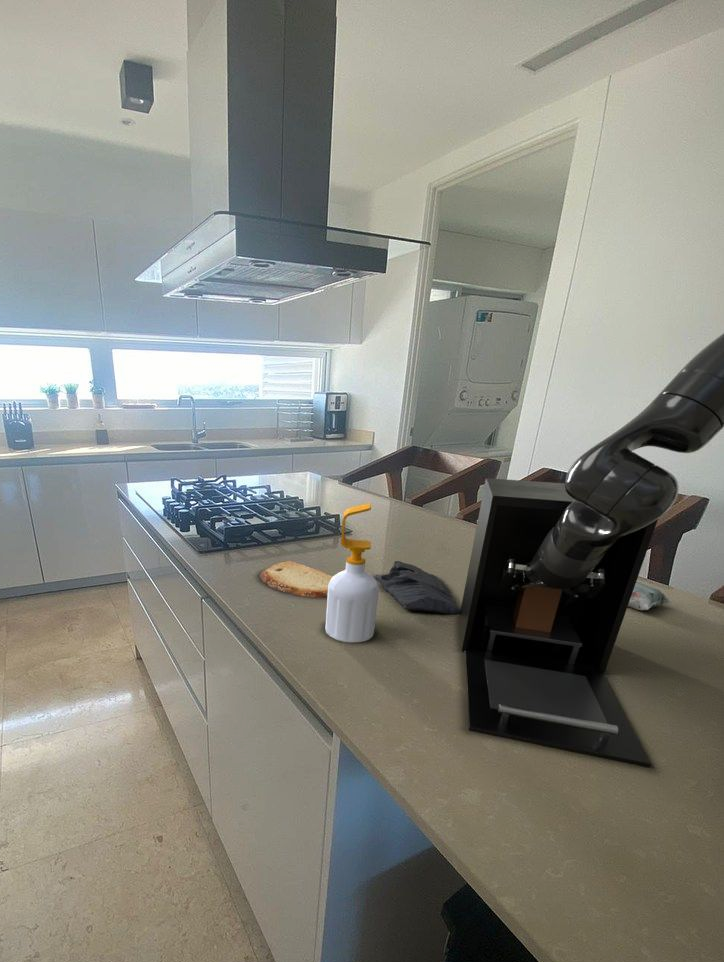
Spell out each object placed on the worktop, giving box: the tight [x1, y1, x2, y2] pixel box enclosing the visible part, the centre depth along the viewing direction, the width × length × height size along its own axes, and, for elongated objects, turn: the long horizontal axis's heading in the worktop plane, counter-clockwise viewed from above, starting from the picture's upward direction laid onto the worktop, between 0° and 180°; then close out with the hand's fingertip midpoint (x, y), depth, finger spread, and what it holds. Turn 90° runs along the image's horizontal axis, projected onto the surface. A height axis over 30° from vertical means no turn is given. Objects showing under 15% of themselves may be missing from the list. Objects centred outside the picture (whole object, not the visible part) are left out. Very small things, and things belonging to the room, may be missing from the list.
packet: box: [513, 580, 562, 632], centre depth 84 cm, size 6×4×8 cm
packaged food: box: [627, 581, 671, 611], centre depth 105 cm, size 9×12×5 cm
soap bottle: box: [325, 502, 380, 644], centre depth 87 cm, size 9×9×25 cm
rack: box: [483, 605, 582, 664], centre depth 87 cm, size 14×11×4 cm
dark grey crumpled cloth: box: [374, 560, 461, 615], centre depth 108 cm, size 15×22×5 cm
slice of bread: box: [259, 560, 333, 598], centre depth 113 cm, size 18×18×4 cm
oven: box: [459, 477, 659, 769], centre depth 74 cm, size 22×38×28 cm, turn 162°
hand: (537, 596), depth 84 cm, fingers open, 8 cm apart
